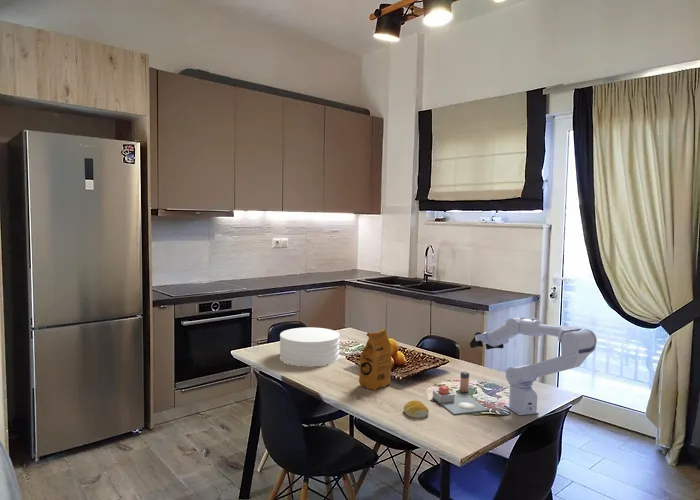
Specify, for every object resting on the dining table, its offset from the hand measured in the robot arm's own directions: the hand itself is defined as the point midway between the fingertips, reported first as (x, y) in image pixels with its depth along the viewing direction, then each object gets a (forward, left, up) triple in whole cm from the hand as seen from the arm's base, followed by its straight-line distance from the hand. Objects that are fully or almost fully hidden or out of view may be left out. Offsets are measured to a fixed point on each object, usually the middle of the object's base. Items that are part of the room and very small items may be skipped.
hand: (478, 346), depth 195 cm
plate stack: (+56, +55, -18) cm, 81 cm away
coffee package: (+14, +38, -18) cm, 44 cm away
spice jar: (-1, +6, -17) cm, 18 cm away
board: (-13, +15, -17) cm, 26 cm away
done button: (-8, +19, -15) cm, 26 cm away
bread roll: (-16, +34, -18) cm, 42 cm away
